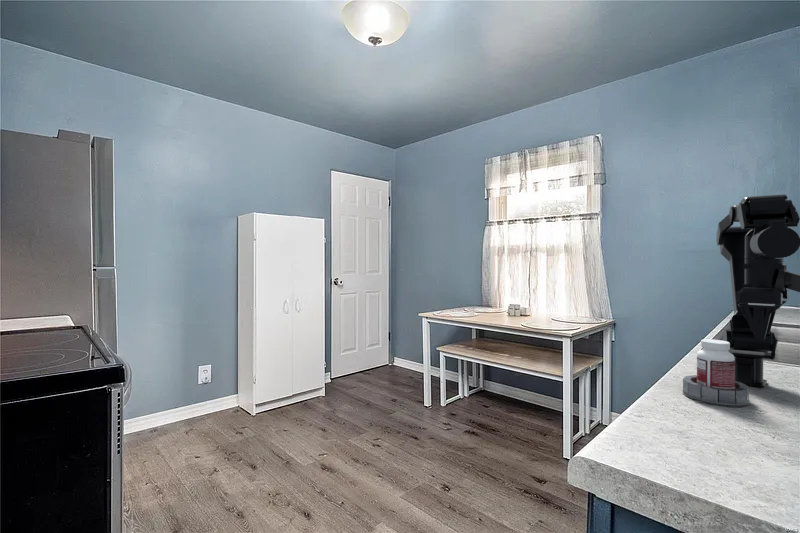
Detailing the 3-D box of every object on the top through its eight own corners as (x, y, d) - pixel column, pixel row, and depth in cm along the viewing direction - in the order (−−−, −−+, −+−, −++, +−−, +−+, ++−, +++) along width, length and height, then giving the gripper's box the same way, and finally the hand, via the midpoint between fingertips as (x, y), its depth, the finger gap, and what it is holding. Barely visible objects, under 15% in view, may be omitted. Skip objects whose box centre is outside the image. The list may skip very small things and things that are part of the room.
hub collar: (689, 385, 90) (689, 372, 90) (753, 397, 82) (753, 382, 82) (676, 397, 82) (676, 382, 82) (745, 411, 75) (745, 395, 75)
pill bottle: (739, 395, 81) (740, 342, 81) (728, 401, 78) (729, 345, 78) (703, 387, 87) (703, 337, 86) (691, 393, 83) (691, 340, 83)
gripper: (821, 258, 67) (821, 350, 67) (823, 258, 80) (823, 336, 80) (735, 258, 75) (735, 341, 76) (749, 258, 88) (749, 329, 88)
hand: (763, 336), depth 80 cm, fingers open, 9 cm apart
